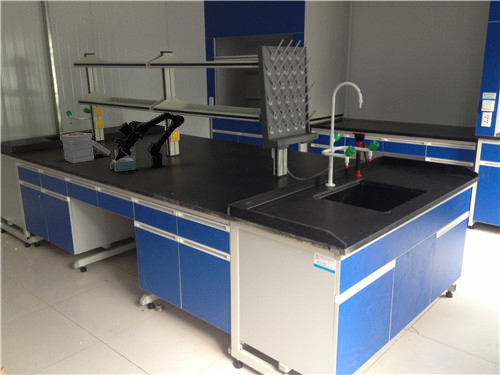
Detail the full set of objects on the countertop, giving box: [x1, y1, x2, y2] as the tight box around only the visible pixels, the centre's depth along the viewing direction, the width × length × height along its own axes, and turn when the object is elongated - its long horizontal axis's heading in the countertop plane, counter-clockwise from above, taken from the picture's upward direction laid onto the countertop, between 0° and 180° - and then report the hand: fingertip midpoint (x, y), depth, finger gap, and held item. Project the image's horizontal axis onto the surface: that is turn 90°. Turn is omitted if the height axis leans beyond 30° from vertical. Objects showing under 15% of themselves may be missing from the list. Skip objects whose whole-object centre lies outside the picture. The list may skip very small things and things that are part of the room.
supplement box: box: [121, 143, 137, 162], centre depth 294 cm, size 7×7×13 cm
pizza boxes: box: [59, 131, 112, 164], centre depth 306 cm, size 19×30×18 cm, turn 133°
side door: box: [114, 148, 138, 173], centre depth 270 cm, size 13×2×14 cm, turn 118°
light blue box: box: [109, 158, 134, 172], centre depth 276 cm, size 14×10×6 cm
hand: (115, 160), depth 267 cm, fingers closed on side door, 2 cm apart
